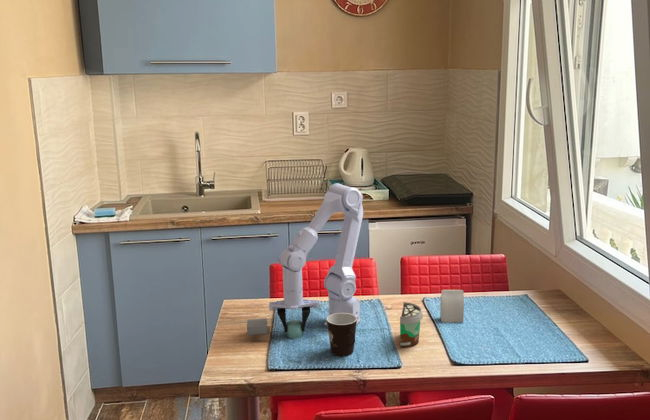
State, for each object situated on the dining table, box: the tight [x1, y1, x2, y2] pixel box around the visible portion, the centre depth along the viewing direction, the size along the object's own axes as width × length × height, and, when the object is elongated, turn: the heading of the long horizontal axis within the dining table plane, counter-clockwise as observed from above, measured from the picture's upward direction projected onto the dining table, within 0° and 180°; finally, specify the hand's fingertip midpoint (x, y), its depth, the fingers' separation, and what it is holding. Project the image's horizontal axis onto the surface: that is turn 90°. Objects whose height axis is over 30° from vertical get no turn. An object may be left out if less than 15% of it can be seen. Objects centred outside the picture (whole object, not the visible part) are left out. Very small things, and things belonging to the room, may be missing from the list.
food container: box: [399, 301, 424, 349], centre depth 189 cm, size 12×6×10 cm, turn 168°
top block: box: [246, 318, 269, 335], centre depth 195 cm, size 6×6×2 cm
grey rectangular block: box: [439, 289, 465, 323], centre depth 204 cm, size 4×7×10 cm, turn 87°
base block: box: [245, 325, 272, 344], centre depth 195 cm, size 7×7×2 cm
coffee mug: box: [326, 313, 358, 357], centre depth 182 cm, size 12×9×10 cm
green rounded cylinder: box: [286, 319, 303, 339], centre depth 196 cm, size 5×5×4 cm
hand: (294, 330), depth 196 cm, fingers closed on green rounded cylinder, 5 cm apart
